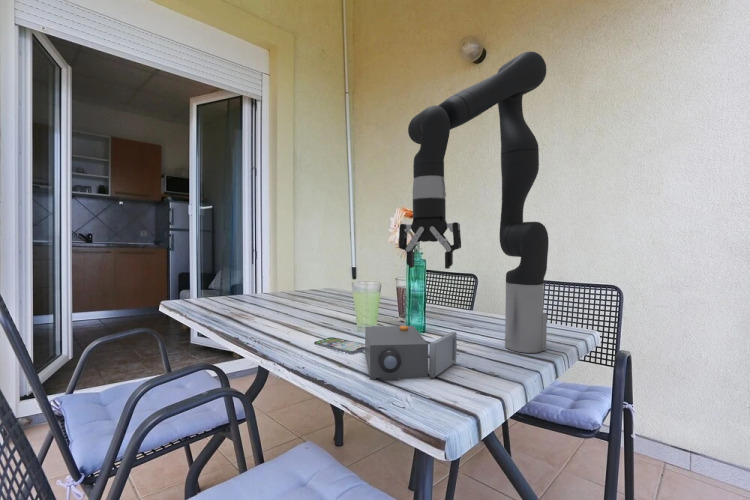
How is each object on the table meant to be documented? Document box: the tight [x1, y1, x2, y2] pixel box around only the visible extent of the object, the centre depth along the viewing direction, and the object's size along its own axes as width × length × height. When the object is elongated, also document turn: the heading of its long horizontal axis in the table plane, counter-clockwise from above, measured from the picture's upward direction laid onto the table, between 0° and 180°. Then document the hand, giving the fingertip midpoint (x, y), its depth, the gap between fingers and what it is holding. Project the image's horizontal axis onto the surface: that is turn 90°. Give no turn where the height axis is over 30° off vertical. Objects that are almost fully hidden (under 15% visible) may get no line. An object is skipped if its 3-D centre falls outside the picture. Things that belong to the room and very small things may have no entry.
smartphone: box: [313, 336, 365, 355], centre depth 97 cm, size 7×1×15 cm
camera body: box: [364, 325, 429, 380], centre depth 81 cm, size 12×17×8 cm
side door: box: [428, 331, 458, 379], centre depth 78 cm, size 2×12×7 cm, turn 145°
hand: (429, 267), depth 84 cm, fingers open, 8 cm apart
